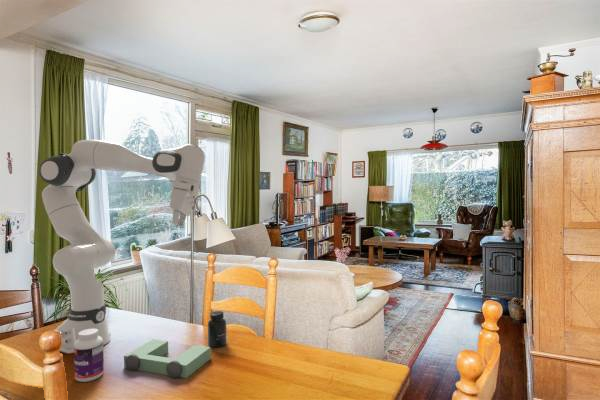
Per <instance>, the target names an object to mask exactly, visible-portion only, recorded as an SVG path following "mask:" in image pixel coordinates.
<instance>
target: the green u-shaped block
mask: <svg viewBox="0 0 600 400" xmlns="http://www.w3.org/2000/svg"><path fill="white" fill-rule="evenodd" d="M211 349H212V347H210V346H205V345H204V346H203V345H198V344H197V345H196V344H193V345H191V346H190V347H189V348H188V349H186V350H185V351H184V352H182V353H181V354H179V355H178V356H176V357H175V358H171V357H165V355H167V354H168V353H169V341H168V340H162V339H153V338H152V339H151V340H149V341H148V342H145V343H144V344H143V345H141V346H139V347H137V348H136V349H133V350H132V351H130V352H129V353H126V354H125V355H123V368H124V369H127V370H128V371H130V372H134V371H141V372H147V373H151V374H152V373H153V374H158V375H165V376H168V377H170V378H172V379H177V378H183V379H188V377H190V376H191V375H192V374H194V373H195V372H196V371H198V370H199V369H200V368H201V367H202V366H204V365H205V364H206V363H207V362H209V361H210V360H212V352H211V351H212V350H211Z"/></svg>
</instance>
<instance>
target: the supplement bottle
mask: <svg viewBox="0 0 600 400" xmlns="http://www.w3.org/2000/svg"><path fill="white" fill-rule="evenodd" d="M209 317H210V319H209V320H208V322H207V345H208V347H211V349H212V348H214V349H215V348H216V349H218V348H222V347H224V346H226V345H227V321H226V319H225V318H224V311H222V310H221V311H220V310H217V311H216V310H214V311H212V312H210V316H209Z"/></svg>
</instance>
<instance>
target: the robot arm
mask: <svg viewBox="0 0 600 400" xmlns="http://www.w3.org/2000/svg"><path fill="white" fill-rule="evenodd" d="M205 158H206V155H205V152H204V151H203V149H202V148H200V147H199V146H196V145H194V144H190V143H187V144H184V145H182V146H179V147H177V148H176V147H175V148H168V149H166V148H164V149H160V150H158V151H157V152H156V153H154V155H153V158H152V157H146V156H144V155H140V153H139V154H138V153H137V152H134V151H133V150H131V149H130V148H128V147H126V146H124V145H122V144H120V143H117V142H113V141H109V140H101V139H82V140H78V141H76V142H75V143H74V144H73V145H72V147H71V151H70V153H69V154H67V153H64V152H62V153H59V154H56V155H54V156H50V157H47V158H45V159H44V160H42V162H41V163H40V165H39V167H38V175H39V177H40V178H41V180H42V181H43V182H45V183H46V184H48V185H47V186H46V187H45V188H44V189H43V190H42V191H41V197H42V199H41V200H42V203H43V205H44V209H45V212H46V214H47V216H48V218H49V221H50V222H51V225H52V226H53V229H54V232H55V234H56V235H57V236H59V237H60V238H62V239H65V240H66V241H68V242H69V243H70V244H69V245H67V246H64V247H62V248H61V249H58V250H56V252H55V253H54V255H52V256H53V257H52V265H53V266H52V267H53V269H54V271H56V272H57V274H59V275H62V277H63V278H64V279H65V281H66V283H67V285H68V288H69V294H70V306H71V308H69V309H67V310H65V314H68V315H67V319H65V320H64V321H62V322H61V324H60V325H58V326H57V327H56V328H55V330H58V331H59V332H60V334H61V337H62V346H61V349H60V352H62V353H65V354H74V343H75V342H76V341H77V340H78V339H79V338H78V333H79V332H80V331H83V330H86V329H98V333H99V334H98V336H100V337H102V339H103V346H104V345H106V344H108V343H109V342H111V337H110V336H111V332H110V331H109V324H108V320H107V318H108V317H107V316H106V314H107V306H106V303H105V288H104V284H103V283H102V281H100V280H98V279H97V278H96V274H95V269H98V268H102V267H105V266H106V265H108V264H109V263H111V262H112V261H113V260H114V259H115V257H116V247H115V246H114V243H112V242H111V241H110V240H107V239H105V238H104V237H102V236H101V235H100V234H99V232H98V231H96V229H95V228H94V227H93V226H92V225H91V224H90V222H89V220H88V218H87V217H86V215H85V213H84V209H82V206H81V204H80V202H79V200H78V199H77V195H76V192H81V191H83V190H84V189H85V188H86V187H87V186H89V185H91V184H92V183H93V182H94V181H95V178H96V174H97V172H96V170H100V171H101V170H102V171H112V172H113V171H114V172H132V173H134V172H135V173H142V174H148V175H154V176H159V177H164V178H166V179H168V180H169V181H170V182H172V183H171V188H172V191H171V194H170V195H171V196H170V203H169V208H170V209H171V210H172V211H173V212H172V220H171V223H172V224H173V225H177V226H178V227H180V228H182V227H184V223H185V221H186V220H187V217H189V216H191V213H192V208H193V203H194V196H198V193H199V190H200V184H201V177H202V174H203V171H204V167H205V166H204V165H205Z"/></svg>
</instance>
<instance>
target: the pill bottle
mask: <svg viewBox="0 0 600 400" xmlns="http://www.w3.org/2000/svg"><path fill="white" fill-rule="evenodd" d="M98 334H99V333H98V329H86V330H83V331H80V332H79V333H78V338H79V339H78V340H77V341H76V342H75V343H74V353H73V358H74V359H73V363H74V365H73V366H74V368H73V369H74V379H75V380H76V381H77V382H79V383H80V382H81V383H83V382H84V383H87V382H92V381H95V380H97V379H99V378H100V377H101V376H103V374H104V372H105V365H104V364H105V363H104V361H105V360H104V345H103V339H102V337H100V336H98Z"/></svg>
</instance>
